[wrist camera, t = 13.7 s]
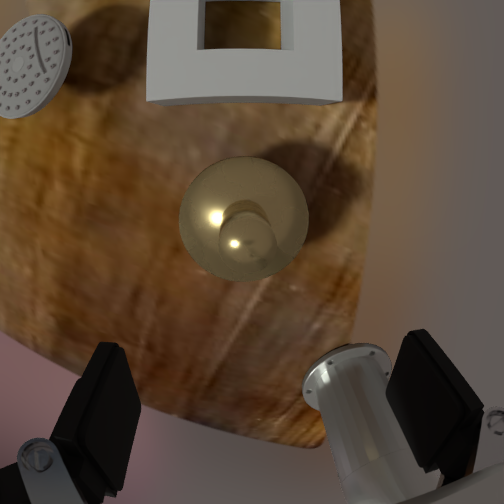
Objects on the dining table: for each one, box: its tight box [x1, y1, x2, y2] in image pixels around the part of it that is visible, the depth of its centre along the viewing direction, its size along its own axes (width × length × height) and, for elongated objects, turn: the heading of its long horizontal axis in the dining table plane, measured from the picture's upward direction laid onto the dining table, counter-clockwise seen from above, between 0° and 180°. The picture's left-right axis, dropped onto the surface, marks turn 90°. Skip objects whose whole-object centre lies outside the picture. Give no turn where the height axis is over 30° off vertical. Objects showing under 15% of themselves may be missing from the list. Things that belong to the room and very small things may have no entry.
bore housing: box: [146, 0, 342, 106], centre depth 20 cm, size 14×14×6 cm
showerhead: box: [0, 14, 72, 119], centre depth 19 cm, size 9×7×10 cm
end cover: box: [179, 156, 309, 282], centre depth 24 cm, size 10×10×10 cm
